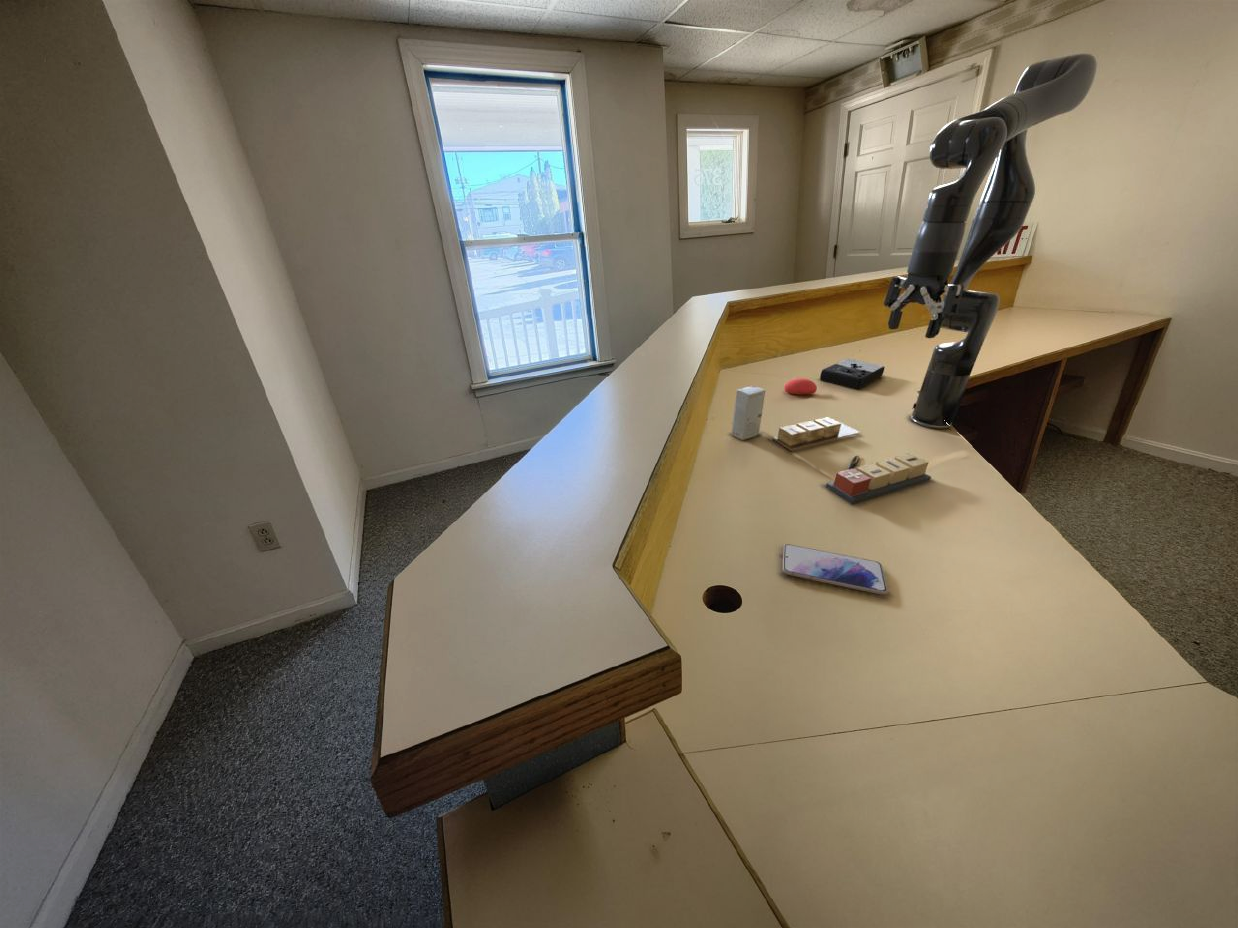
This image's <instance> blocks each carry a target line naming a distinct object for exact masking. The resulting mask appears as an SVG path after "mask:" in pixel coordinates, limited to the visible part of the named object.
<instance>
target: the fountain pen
mask: <svg viewBox="0 0 1238 928" xmlns="http://www.w3.org/2000/svg"><path fill="white" fill-rule="evenodd" d="M859 459H860V455H859V454H857V455H855V456H854V457H853V458H852V460H851V462H850V465H849V467H848V469H852V468H853V469H856V466H857V464H858V462H859Z"/></svg>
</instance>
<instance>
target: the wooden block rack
mask: <svg viewBox="0 0 1238 928" xmlns="http://www.w3.org/2000/svg"><path fill="white" fill-rule="evenodd" d="M928 465H929V461H926V460H925V459H924V458H921V457H919V456H916V455H915V454H912V453H911V452H909V453H908V452H907V453H906V454H901V455H898V456H897V455H896V456H895V457H894V458H892V457H889V458H885V459H883V460H879V461H876V462H875V463H873V462H872V463H868V464H863V465H861V466H857V467H856V468H855V470H857V471H859V472H861V473H863V474H864V475H866V476H867V477H869V478H871V481H870V484H869V487H868V490H867V491H866V492H863V493H859V494H856V495H853V496H850V495H848V494H847V493H845V492H843V491H842V490H840V489H839V488H837V487H836V486H834V485H833V484H834V481H835V480H833V481H829V482H826V484H825V488H827V489H828V490H830V491H831V492H833V493H835V494H836V495H837V496H839V497H840V498H842V499H843V500H845V501H846V502H848V503H850V504H851V505H856V504H858V503H861V502H865V501H869V500H872V499H874V498H879V497H882V496H885V495H888V494H891V493H895V492H897V491H900V490H904V489H907V488H911V487H915V486H917V485H920V484H923V483H926V482H930V481H931V479H932V476H931V475H929V474H927V473H926V471H927V468H928Z"/></svg>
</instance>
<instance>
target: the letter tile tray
mask: <svg viewBox="0 0 1238 928" xmlns="http://www.w3.org/2000/svg"><path fill="white" fill-rule="evenodd" d="M860 433H861V431H859V430H856V429H854V428H853V427H850V426H848V425H846V424H845V423H842V422H840V421H837V420H835V419H833V418H830V417H828V416H825V417H821V418H816V419H814V420H808V421H802V422H798V423H796V424H794V423H793V424H790V425H785V426H780V427H779V428H778V433H777V435H774V436H772V438H771V441H772V442H774V443H775V444H777V445H778V446H780V447H782V448H783V449H785V450H786V451H788V452H789V453H793V450H792V449H798V448H801V447H805V446H810V445H814V444H818V443H822V442H826V441H830V440H834V439H839V438H843V437H848V436H852V435H856V434H860ZM779 442H780V443H779ZM781 443H782V444H781ZM789 448H790V449H789Z"/></svg>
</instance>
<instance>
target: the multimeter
mask: <svg viewBox="0 0 1238 928" xmlns="http://www.w3.org/2000/svg"><path fill="white" fill-rule="evenodd" d="M885 368H886V367H885V366H884V365H882V364H876V363H871V362H867V361H861V360H857V359H853V358H845V359H842V360H841V361H838V362H836V363H834V364H832V365H829V366H828V367H825V368H822V370H821V372H820V376H819V380H820V381H822V382H823V381H824V382H827V383H831V384H835V385H838V386H843V387H847V388H850V389H855V390H860V389H862V388H863V387H866V386H867V385H869V384H870V383H873V382H875V381H876V380H878V379H880V378H881V377H883V376H884V375H883V374H884V372H885Z"/></svg>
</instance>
